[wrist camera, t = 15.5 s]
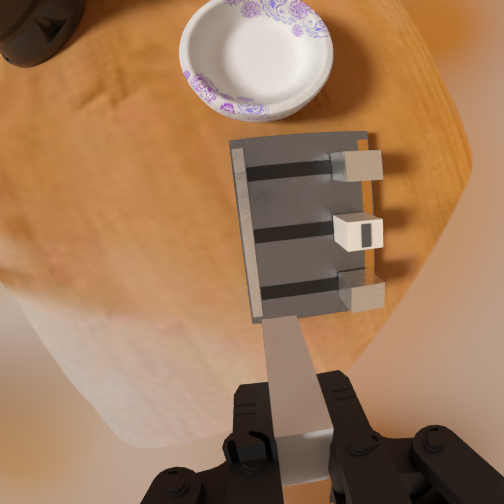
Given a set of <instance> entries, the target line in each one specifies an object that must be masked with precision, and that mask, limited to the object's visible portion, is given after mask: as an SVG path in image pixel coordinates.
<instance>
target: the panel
mask: <svg viewBox="0 0 504 504" xmlns="http://www.w3.org/2000/svg"><path fill="white" fill-rule="evenodd" d="M229 146H230V154H231V162H232V170H233V178H234V186H235V194H236V202H237V210H238V218H239V225H240V233H241V241H242V249H243V256H244V264H245V272H246V279H247V287H248V294H249V302H250V309H251V316H252V324H258V323H262V321H261V320H262V319H270V318H278V317H286V316H293V315H296V316H297V318H304V317H311V316H317V315H324V314H330V313H336V312H342V311H348V310H350V312H351V313H355V312H360V311H366V310H371V309H377V308H382V307H384V297H385V282H384V281H383V280H382V279H381V278H379V277H378V276H377V275H376V274H375V248H374V249H366V250H359V251H351V252H348V251H347V250H345V249H344V248H343V247H342V246H341V245H339V244H338V243H337V242H336V241H335V239H334V222H333V215H339V214H349V213H360V212H366V213H369V214H371V215H374V203H373V186H372V180H383V168H382V157H381V150H369V142H368V134H367V131H351V132H322V133H305V134H290V135H278V136H267V137H258V138H249V139H240V140H232V141H229Z"/></svg>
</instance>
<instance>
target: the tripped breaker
mask: <svg viewBox="0 0 504 504" xmlns="http://www.w3.org/2000/svg"><path fill="white" fill-rule="evenodd" d="M333 222H334V239H335V241H336V242H337V243H338V244H339V245H341V246H342V247H343V248H344V249H345V250H347V251H348V252H351V251H359V250H366V249H374V248H381V247H383V219H382V218H379V217H377V216H374V215H371V214H369V213H366V212H360V213H349V214H339V215H333Z"/></svg>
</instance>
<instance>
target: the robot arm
mask: <svg viewBox="0 0 504 504" xmlns="http://www.w3.org/2000/svg"><path fill="white" fill-rule="evenodd" d="M83 8H84V0H0V53H1V54H2V56H3V57H4V59H5V60H6V61H7V62H8V63H10V64H12V65H15V66H18V67H22V68H27V67H32V66H35V65H37V64H39V63H41V62H43V61H44V60H46V59H47V58H49V57H50V56H51V55H52V54H54V53H55V52H56V51H57V50H58V49H59V48H60V47H61V46H62V45H63V44H64V43H65V41H66V40H67V39H68V38H69V36H70V35H71V34H72V32H73V31H74V29H75V27H76V26H77V24H78V22H79V20H80V18H81V15H82V12H83ZM261 321H262V330H263V339H264V348H265V357H266V366H267V375H268V382H262V383H253V384H243V385H240V386H239V388H238V389H237V391H236V392H235V394H234V410H233V415H234V416H233V433H231V434H230V435H229V436H228V437H227V438H226V439H225V440H224V443H223V447H222V449H223V452H224V455H225V458H226V461H225V462H224V463H222V464H221V465H219V466H218V467H215V468H212V469H210V470H206V471H202V472H198V473H195V472H194V471H193V470H190V469H188V468H185V467H173V468H169V469H166V470H164V471H162V472H160V473H159V474H158V475H157V476H156V477H155V479H154V480H153V482H152V484H151V485H150V487H149V489H148V491H147V493H146V494H145V496H144V498H143V500H142V501H141V503H140V504H284V500H283V492H282V486H287V485H295V484H301V483H307V482H313V481H319V480H324V479H328V477H329V475H330V478H331V482H332V486H331V493H330V502H333V503H334V504H504V477H503V476H502V475H501V474H500V473H499V472H497V471H496V470H495V469H494V468H493V467H492V466H491V465H489V463H487V462H486V461H485V460H484V459H483V458H482V457H481V456H480V455H478V454H477V453H476V452H475V451H474V450H473V449H472V448H470V447H469V446H468V445H467V444H466V443H465V442H463V440H462V439H460V438H459V437H458V436H457V435H456V434H455V433H454V432H453V431H451V430H450V429H448V428H447V427H444V426H440V425H430V426H427V427H424V428H422V429H421V430H419V432H417V433H416V435H415V437H414V438H400V439H394V438H393V439H392V438H387V437H383V436H381V435H380V434H379V433H377V432H376V431H374V430H373V429H372V428H371V426H370V424H369V422H368V420H367V417H366V415H365V413H364V411H363V409H362V406H361V404H360V402H359V400H358V398H357V396H356V393H355V391H354V389H353V387H352V384H351V382H350V380H349V378H348V377H347V376H346V375H344V374H343V373H342V372H341V371H339V370H336V371H331V372H326V373H320V374H316V373H315V370H314V367H313V364H312V361H311V358H310V355H309V352H308V349H307V346H306V343H305V340H304V337H303V334H302V331H301V328H300V325H299V322H298V319H297V316H296V315H293V316H286V317H278V318H270V319H262V320H261Z"/></svg>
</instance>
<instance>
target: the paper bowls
mask: <svg viewBox="0 0 504 504" xmlns="http://www.w3.org/2000/svg"><path fill="white" fill-rule="evenodd" d="M179 58H180V64H181V68H182V71H183V73H184V75H185V77H186V79H187V81H188V83H189V84H190V86H191V87H192V89H193V90H194V91H195V92H196V94H197V95H198V96H199V97H200V98H201V100H202V101H203V102H205V103H206V104H207V105H208V106H209V107H210V108H212V109H213V110H215V111H216V112H218V113H220V114H222V115H224V116H226V117H229V118H232V119H235V120H240V121H246V122H258V123H259V122H270V121H275V120H279V119H282V118H285V117H287V116H290V115H292V114H294V113H295V112H297V111H299V110H300V109H302V108H303V107H304V106H305V105H307V104H308V103H309V102H310V101H311V100H312V99H313V98H314V97H315V96H316V95H317V94H318V92H319V91H320V90H321V89H322V87H323V86H324V85H325V83H326V81H327V80H328V77H329V75H330V73H331V70H332V65H333V58H334V50H333V43H332V39H331V36H330V33H329V31H328V29H327V27H326V25H325V23H324V22H323V21H322V19H321V18H320V17H319V15H318V14H317V13H316V12H315V11H314V10H313V9H312V8H310V7H309V6H308V5H307V4H305V3H304V2H302V1H300V0H211V1H209V2H208V3H206V4H205V5H204V6H202V7H201V8H200V9H199V10H198V11H197V12H196V13H195V14H194V15H193V16H192V18H191V19H190V21H189V22H188V24H187V25H186V27H185V29H184V31H183V34H182V37H181V42H180V47H179Z"/></svg>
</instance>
